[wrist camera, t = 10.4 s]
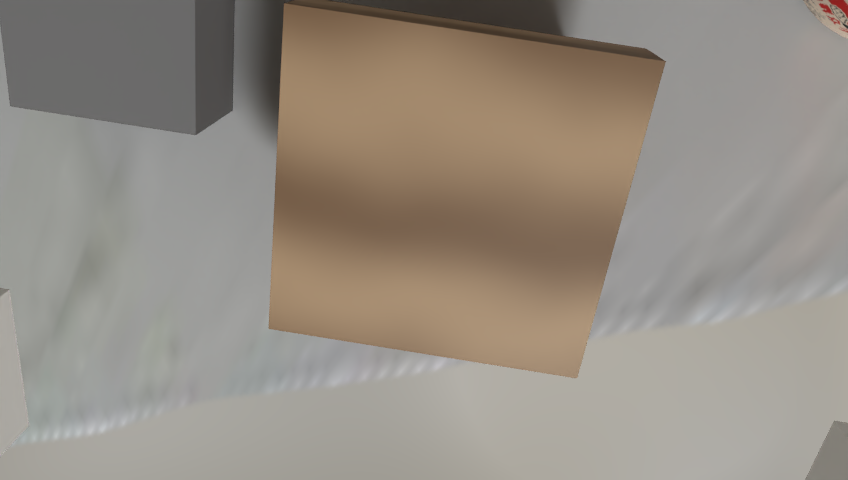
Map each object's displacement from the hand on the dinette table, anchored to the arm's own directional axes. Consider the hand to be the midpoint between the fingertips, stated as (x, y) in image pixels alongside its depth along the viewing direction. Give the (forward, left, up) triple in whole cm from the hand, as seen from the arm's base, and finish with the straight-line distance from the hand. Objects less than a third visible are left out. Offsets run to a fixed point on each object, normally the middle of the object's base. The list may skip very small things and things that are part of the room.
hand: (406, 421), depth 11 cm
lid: (+1, 0, -14) cm, 14 cm away
